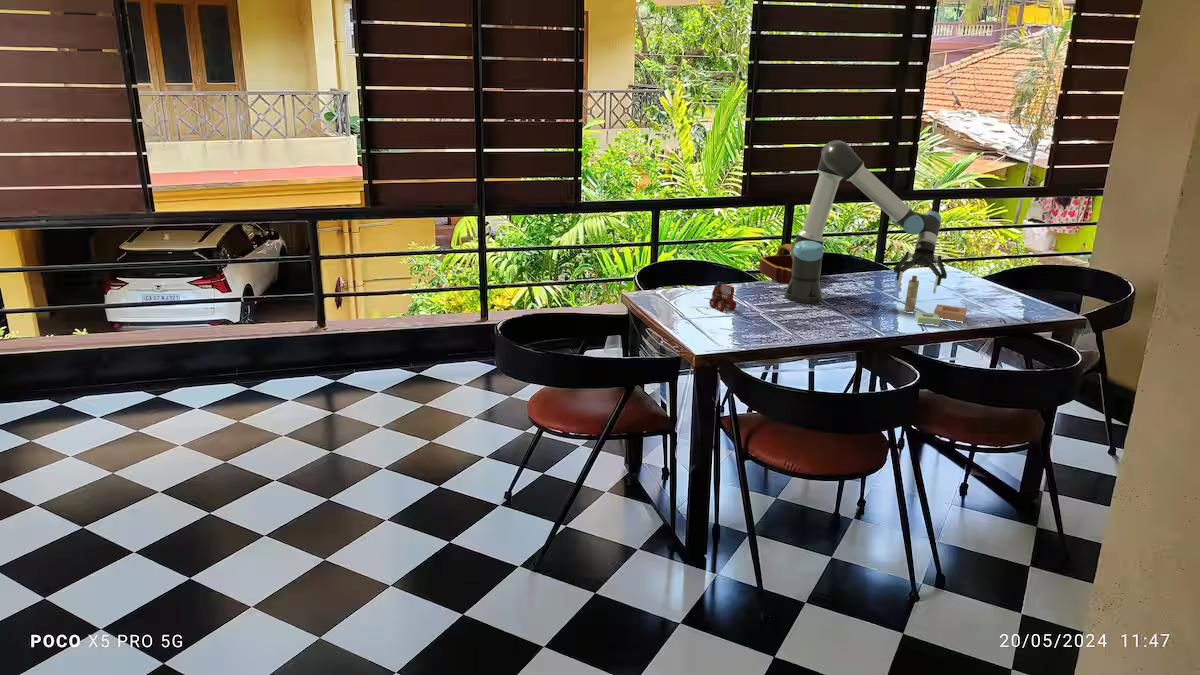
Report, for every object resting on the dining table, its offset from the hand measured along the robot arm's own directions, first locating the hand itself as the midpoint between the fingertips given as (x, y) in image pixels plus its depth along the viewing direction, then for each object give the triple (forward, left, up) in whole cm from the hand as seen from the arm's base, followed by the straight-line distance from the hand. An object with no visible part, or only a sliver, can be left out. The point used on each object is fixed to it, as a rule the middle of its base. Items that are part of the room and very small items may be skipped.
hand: (916, 289), depth 335 cm
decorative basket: (-59, +34, -10) cm, 69 cm away
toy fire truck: (-67, -39, -10) cm, 78 cm away
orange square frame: (+14, -1, -9) cm, 17 cm away
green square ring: (+7, -14, -9) cm, 18 cm away
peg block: (-1, -2, -9) cm, 10 cm away
